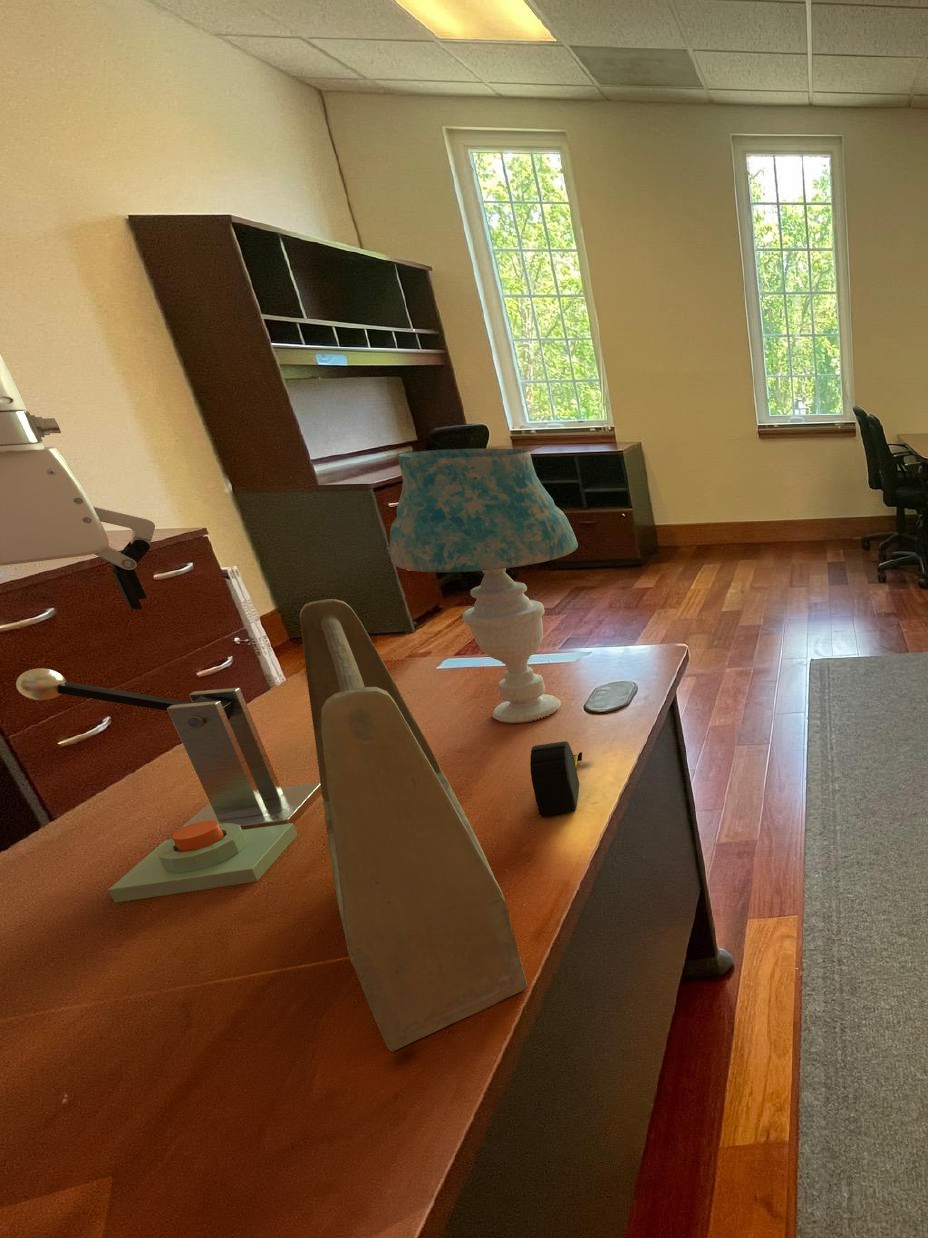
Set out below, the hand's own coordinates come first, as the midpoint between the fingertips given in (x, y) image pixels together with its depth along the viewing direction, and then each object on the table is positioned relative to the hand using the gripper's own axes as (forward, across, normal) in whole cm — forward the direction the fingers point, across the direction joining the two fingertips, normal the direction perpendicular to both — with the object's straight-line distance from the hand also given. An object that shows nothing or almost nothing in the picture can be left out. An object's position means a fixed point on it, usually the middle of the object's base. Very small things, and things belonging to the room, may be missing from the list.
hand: (66, 618), depth 70 cm
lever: (+12, -1, -7) cm, 14 cm away
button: (+24, -1, +7) cm, 25 cm away
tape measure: (+28, -33, +22) cm, 48 cm away
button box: (+27, -1, +7) cm, 28 cm away
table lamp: (+28, -42, -6) cm, 51 cm away
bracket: (+27, -7, -2) cm, 28 cm away
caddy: (+28, -12, +37) cm, 48 cm away
